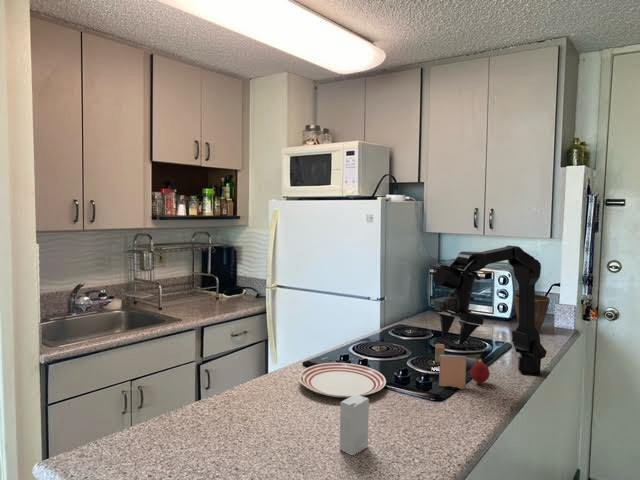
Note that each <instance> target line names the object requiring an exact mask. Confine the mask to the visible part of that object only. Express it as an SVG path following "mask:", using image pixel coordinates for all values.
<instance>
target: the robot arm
mask: <svg viewBox="0 0 640 480" xmlns="http://www.w3.org/2000/svg"><path fill="white" fill-rule="evenodd" d="M504 261H507V262H508V264H509V265H510V266H511V267H512V269H513V270H512V271H513V275H514V277H515V280H516V281H517V283H518V294H519V323H518V326H517V327H516V329H514V330H512V331H511V336H512V337H511V342H512V345H513V346H514V349H515V350H514V351H515V352H516V353H519V356H518V357H517V368H516V369H517V370H518V371H519V373H520V374H521V375H527V376H541V377H542V373H541V363H542V362H541V361H542V360H543V359H544V358H546V355H547V352H548V351H547V350H546V348H544V346H543V345H542V343H541V335H540V334H539V332H538V331H537V330H536V328H535V295H536V284H537V282H538V280H539V279H540V277H541V272H542V271H541V270H542V264H541V262H540V260H538V259H536V258H535V257H534V256H533V255H531V254H529V253H527V252H526V251H524V250H523V248H522V247H520V246H519V245H518V246H517V245H506V246H504V247H498V248H494V249H489V250H484V251H466V250H465V251H460V252H459V253H458V254H457V257H456V258H455V259H453V261H452V262H451V263H450V264H449V265H447V264H440V266H439V268H437V269H436V270H435V272H434V273H433V276H432V279H433V284H434V285H435V286H437V287H440V288H445V289H450V290H452V291H450V292H449V293H448V295H447V296H443V297H438V298H433V307H434V308H433V311H434V312H435V314H436V315H437V316H438V318H439V320H440V326H441V335H442V336H441V337H443V338H446V337H447V336H448V334H449V332H450V330H451V327H452V325H453V323H454V321H455V318H456V317H459V320H458V323H459V325H460V330H459V331H460V332H459V337H458V338H459V339H458V344H459V345H463V344H464V343H465V342H466V341H467V340H468V338H469V337H470V336H471V334H473V332H474V331H476V329H478V328H480V326H483V325H484V322H485V318H484V316H483V315H481V314H479V313H476V312H472V310H471V309H469V308H470V305H471V301H474V300H475V297H474V296H472V295H473V290H474V285H475V282H476V280H477V281H481V277H480V276H479V273H478V272H479V271H481V270H483V269H485V268H486V266H489V265H490V264H495V263H499V262H504Z"/></svg>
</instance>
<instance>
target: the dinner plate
mask: <svg viewBox="0 0 640 480" xmlns="http://www.w3.org/2000/svg"><path fill="white" fill-rule="evenodd" d="M298 380H299V382H300V384H301V385H303V386H304V387H305V388H307V389H308V390H311V391H312V392H314V393H316V394H318V395H319V394H320V395H323V396H327V397H331V398H336V399H337V398H341V399H348V398H349V397H351V396H353V395H359V396H362V397H365V396H368V395H372V394H375V393H377V392H380V391H381V390H382V389H384V387H385V386H386V384H387V380H386V377H385V376H384V375H383V374H382V373H381V372H379V371H377V369H374V368H370V367H368V366H365V365H361V364H354V363H348V362H325V363H320V364H319V363H318V364H315V365H312V366H308V367H307V368H305V369H303V370H302V371H301V372H300V373H299V375H298Z"/></svg>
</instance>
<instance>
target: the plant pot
mask: <svg viewBox="0 0 640 480" xmlns="http://www.w3.org/2000/svg"><path fill="white" fill-rule="evenodd" d="M513 299H514V310H515V313H516V318H517V322H518V324H519V293H516V294H513ZM550 300H551V298H550V297H548V296H546V295H541V294H535V328H536V330H537V331H538V333H539V332H540V330H541V328H542V326H543V324H544V322H545V318H546V316H547V312H548V309H549V305H550Z"/></svg>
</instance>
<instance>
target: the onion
mask: <svg viewBox="0 0 640 480" xmlns="http://www.w3.org/2000/svg"><path fill="white" fill-rule="evenodd" d="M490 374H491V373H490V370H489V367H488V366H487V365H486V364H485V363H484V362H483V360H482V359H478V361H477V362H476V363H474V364H473V365H472V366H471V367H470V376H471V379H472V380H473V381H475V383H476V384H477V385H482V384H484V383H485V382H486V381H488V380H489V378H490Z"/></svg>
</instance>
